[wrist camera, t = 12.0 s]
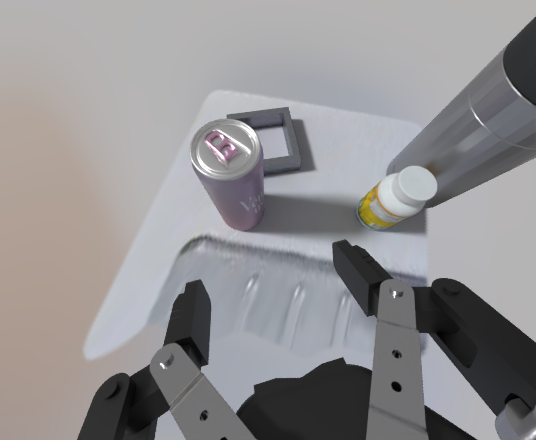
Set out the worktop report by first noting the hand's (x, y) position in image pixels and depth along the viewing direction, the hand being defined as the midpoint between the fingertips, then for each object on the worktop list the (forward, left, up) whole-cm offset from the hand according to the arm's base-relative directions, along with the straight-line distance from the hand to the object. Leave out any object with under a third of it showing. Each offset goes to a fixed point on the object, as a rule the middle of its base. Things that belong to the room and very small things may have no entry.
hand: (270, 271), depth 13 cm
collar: (-3, -20, -16) cm, 26 cm away
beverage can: (+2, -10, -17) cm, 19 cm away
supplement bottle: (-17, -7, -17) cm, 25 cm away
